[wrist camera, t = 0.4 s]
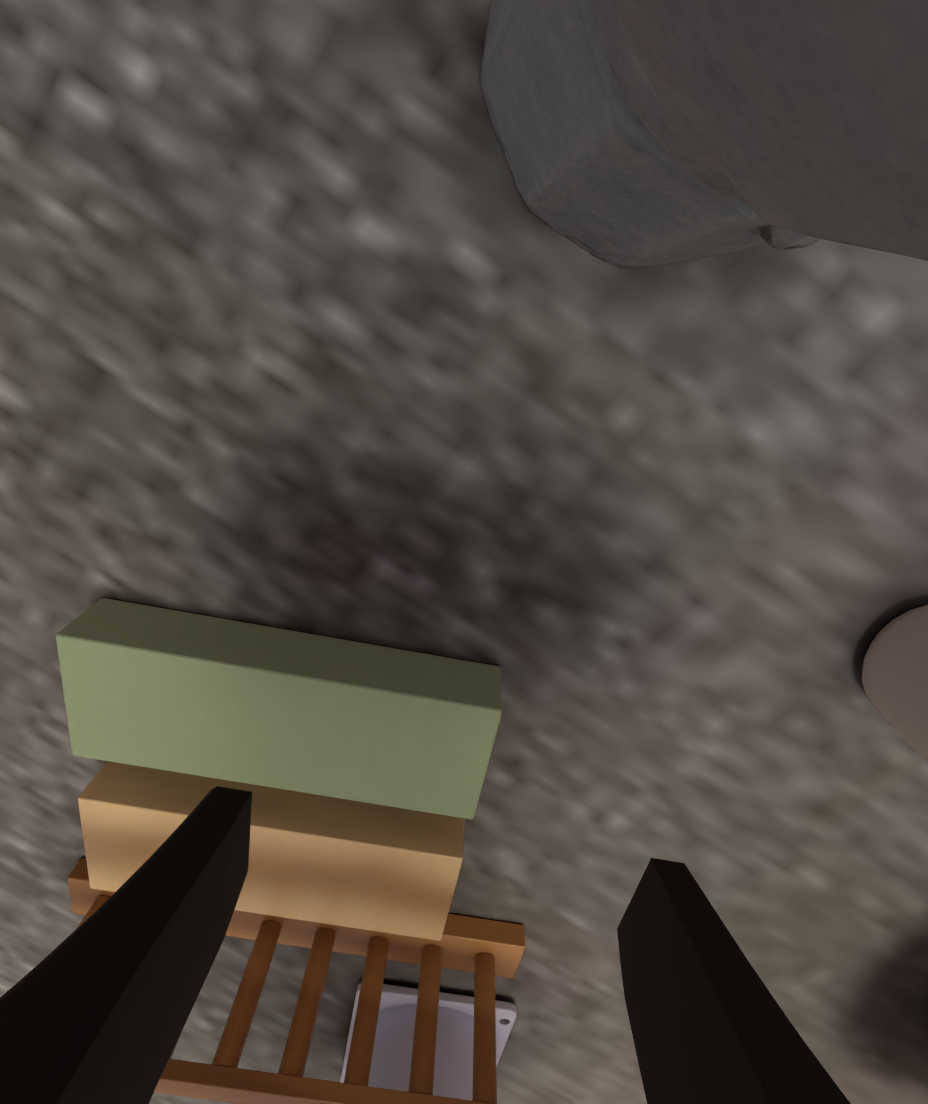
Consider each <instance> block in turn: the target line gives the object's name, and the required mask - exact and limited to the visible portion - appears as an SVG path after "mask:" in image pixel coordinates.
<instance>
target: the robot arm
mask: <svg viewBox="0 0 928 1104" xmlns="http://www.w3.org/2000/svg"><path fill="white" fill-rule="evenodd" d="M251 806H252V792H250V791H244V790H238V789H232V788H226V787H220V786H217V787H215V788H213V789H211V790H210V791H209V792H208V794H207V795H206V796H205V797H204V798H203V799H202V801H201V802H200V803H199V804H198V805H197V806H196V808H195V809H194V810H193V811H192V812H191V813H190V814H189V815H188V817H187V818H186V819H185V820H184V821H183V822H182V823H181V824H180V825H179V827H178V828H177V829H176V830H175V831H174V832H173V833H172V834H171V835H170V836H169V837H168V838H167V840H166V841H165V842H164V843H163V844H162V845H161V846H160V847H159V848H158V849H157V850H156V851H155V852H154V853H153V854H152V855H151V857H150V858H149V859H148V860H147V861H146V862H145V863H144V864H143V865H142V866H141V867H140V868H139V869H138V870H137V871H136V872H135V873H134V874H133V875H132V876H131V877H130V878H129V879H128V880H127V881H126V882H125V883H124V884H123V885H122V886H121V887H120V888H119V889H118V890H117V891H116V892H115V893H114V894H113V895H112V896H111V897H110V898H109V899H108V900H107V901H106V902H105V903H104V904H103V905H102V906H101V907H100V908H99V909H98V910H97V911H96V912H94V913H93V914H92V915H91V916H90V917H89V918H88V919H87V920H86V921H85V922H84V923H83V924H82V925H80V926H79V927H78V928H77V929H76V930H75V931H74V932H73V933H72V934H71V935H70V936H69V937H68V938H66V939H65V940H64V941H63V942H62V943H61V944H60V945H59V946H58V947H57V948H56V949H55V950H54V951H52V952H51V953H50V954H49V955H48V956H47V957H46V958H45V959H44V960H43V961H42V962H40V963H39V964H38V965H37V966H36V967H35V968H34V969H33V970H31V971H30V972H29V973H28V974H27V975H26V976H25V977H24V978H22V979H21V980H20V981H19V982H18V983H17V984H16V985H14V986H13V987H12V988H11V989H10V990H9V991H7V992H6V993H5V994H4V995H3V996H2V997H0V1104H149V1102H150V1099H151V1097H152V1095H153V1092H154V1090H155V1088H156V1086H157V1084H158V1082H159V1079H160V1077H161V1075H162V1073H163V1071H164V1068H165V1066H166V1064H167V1062H168V1060H169V1058H170V1055H171V1053H172V1051H173V1049H174V1047H175V1045H176V1042H177V1040H178V1038H179V1036H180V1034H181V1031H182V1029H183V1027H184V1025H185V1023H186V1021H187V1018H188V1016H189V1014H190V1012H191V1010H192V1008H193V1005H194V1003H195V1001H196V999H197V997H198V994H199V992H200V990H201V988H202V986H203V984H204V981H205V979H206V977H207V975H208V973H209V970H210V968H211V966H212V964H213V962H214V959H215V957H216V955H217V953H218V951H219V948H220V946H221V944H222V942H223V939H224V937H225V935H226V932H227V929H228V927H229V924H230V921H231V918H232V915H233V913H234V910H235V907H236V904H237V901H238V898H239V896H240V893H241V890H242V887H243V884H244V881H245V878H246V875H247V872H248V866H249V846H250V826H251ZM617 931H618V941H619V951H620V961H621V970H622V979H623V987H624V995H625V1000H626V1005H627V1010H628V1015H629V1020H630V1025H631V1030H632V1034H633V1039H634V1044H635V1049H636V1053H637V1058H638V1063H639V1067H640V1072H641V1076H642V1081H643V1086H644V1090H645V1095H646V1099H647V1104H851V1103H850V1102H849V1101H848V1100H847V1098H846V1097H845V1096H844V1094H843V1093H842V1092H841V1091H840V1089H839V1088H838V1087H837V1085H836V1084H835V1083H834V1081H833V1080H832V1078H831V1077H830V1076H829V1074H828V1073H827V1072H826V1070H825V1069H824V1068H823V1066H822V1065H821V1064H820V1062H819V1061H818V1060H817V1058H816V1057H815V1056H814V1054H813V1053H812V1052H811V1050H810V1049H809V1048H808V1046H807V1045H806V1044H805V1042H804V1041H803V1039H802V1038H801V1037H800V1035H799V1034H798V1032H797V1031H796V1030H795V1028H794V1027H793V1025H792V1024H791V1023H790V1021H789V1020H788V1018H787V1017H786V1015H785V1014H784V1013H783V1011H782V1010H781V1008H780V1007H779V1005H778V1004H777V1002H776V1001H775V999H774V998H773V997H772V995H771V994H770V992H769V991H768V989H767V988H766V986H765V985H764V984H763V982H762V981H761V979H760V978H759V976H758V975H757V973H756V972H755V970H754V969H753V967H752V966H751V964H750V963H749V961H748V960H747V958H746V957H745V955H744V954H743V952H742V951H741V949H740V948H739V946H738V945H737V943H736V942H735V940H734V939H733V937H732V936H731V934H730V933H729V931H728V930H727V928H726V927H725V925H724V924H723V922H722V921H721V919H720V917H719V916H718V914H717V913H716V911H715V910H714V908H713V907H712V905H711V904H710V902H709V901H708V899H707V898H706V896H705V894H704V893H703V891H702V890H701V888H700V887H699V885H698V884H697V882H696V881H695V879H694V878H693V876H692V875H691V873H690V872H689V870H688V869H687V867H686V865H685V864H684V863H679V862H673V861H667V860H661V859H654V858H651V860H650V862H649V864H648V866H647V868H646V870H645V872H644V874H643V877H642V879H641V881H640V883H639V885H638V887H637V889H636V891H635V893H634V895H633V897H632V899H631V901H630V903H629V905H628V908H627V910H626V912H625V914H624V916H623V918H622V920H621V922H620V924H619V926H618V928H617ZM361 983H362V982H361ZM361 983H360V984H358V986H357V991H356V997H355V1002H354V1008H353V1013H352V1019H351V1024H350V1030H349V1036H348V1041H347V1047H346V1052H345V1058H344V1063H343V1069H342V1074H341V1080H340V1083H344V1078H345V1072H346V1066H347V1061H348V1055H349V1050H350V1044H351V1039H352V1033H353V1027H354V1022H355V1016H356V1011H357V1005H358V999H359V994H360V988H361ZM417 997H418V989H416V988H409V987H403V986H396V985H389V984H383V988H382V994H381V1001H380V1008H379V1015H378V1022H377V1028H376V1035H375V1042H374V1049H373V1055H372V1062H371V1069H370V1076H369V1083H368V1086H369V1087H377V1088H384V1089H391V1090H398V1091H406V1092H408V1090H409V1080H410V1070H411V1059H412V1049H413V1038H414V1028H415V1018H416V1007H417ZM495 1015H496V1067H497V1064H498V1062H499V1059H500V1057H501V1054H502V1052H503V1049H504V1047H505V1044H506V1042H507V1039H508V1037H509V1034H510V1032H511V1029H512V1027H513V1024H514V1021H515V1019H516V1015H517V1013H516V1006H515V1005H514V1004H513V1003H510V1002H505V1001H498V1000H495ZM473 1032H474V997H471V996H464V995H457V994H450V993H444V992H439V1006H438V1021H437V1036H436V1052H435V1067H434V1082H433V1095H434V1096H442V1097H449V1098H456V1099H463V1100H471V1101H472V1094H473Z"/></svg>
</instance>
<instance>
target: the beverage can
mask: <svg viewBox="0 0 928 1104" xmlns="http://www.w3.org/2000/svg"><path fill="white" fill-rule="evenodd" d="M862 683H863V686H864V690H865V694H866V696H867V697H868V698H869V700H870V701H871V702H872V704H873V705H874V706H875V707H876V709H877V710H878V711H879V712H880V713H881V714H882V715H883V716H884V717H885V718H886V719H887V720H888V721H889V722H890V724H891V725H892V726H893V727H894V728H895V729H896V730H897V731H898V732H899V733H900V734H901V735H902V736H903V737H904V739H905V740H906V741H907V742H908V743H909V744H910V745H911V746H912V747H913V748H914V749H915V750H916V751H917V752H918V754H919V755H920V756H921V757H922V758H923V759H924V760H925V761H926V762H927V763H928V605H925V606H922V607H918V608H915V609H912V610H909V611H907V612H905V613H904V614H902V615H900V616H898V617H896V618H895V619H893V620H892V621H891V622H890V623H888V624H887V625H886V626H885V627H884V628H883V629H881V630H880V632H879V633H878V634H877V636H876V637H875V638H874V640H873V641H872V642H871V644H870V646H869V648H868V651H867V653H866V655H865V658H864V662H863V672H862Z"/></svg>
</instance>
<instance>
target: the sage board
mask: <svg viewBox="0 0 928 1104" xmlns="http://www.w3.org/2000/svg"><path fill="white" fill-rule="evenodd" d="M56 642H57V649H58V657H59V664H60V671H61V678H62V685H63V693H64V700H65V707H66V714H67V721H68V729H69V736H70V743H71V750H72V755H74V756H79V757H85V758H91V759H98V760H104V761H110V762H116V763H122V764H129V765H135V766H141V767H147V768H154V769H160V770H166V771H172V772H178V773H185V774H191V775H197V776H203V777H210V778H216V779H222V780H228V781H235V782H241V783H247V784H253V785H259V786H266V787H272V788H278V789H284V790H291V791H297V792H303V793H309V794H315V795H322V796H328V797H334V798H340V799H347V800H353V801H359V802H365V803H371V804H378V805H384V806H390V807H396V808H403V809H409V810H415V811H421V812H427V813H434V814H440V815H446V816H452V817H459V818H465V819H473V818H474V816H475V812H476V808H477V804H478V801H479V797H480V793H481V790H482V786H483V782H484V778H485V775H486V771H487V767H488V764H489V760H490V756H491V753H492V749H493V745H494V741H495V738H496V734H497V730H498V727H499V723H500V719H501V715H502V712H503V709H502V685H501V668H500V667H499V666H493V665H487V664H481V663H476V662H470V661H464V660H458V659H453V658H447V657H441V656H435V655H430V654H424V653H418V652H412V651H406V650H401V649H395V648H389V647H383V646H378V645H372V644H366V643H360V642H355V641H349V640H343V639H337V638H331V637H326V636H320V635H314V634H308V633H303V632H297V631H291V630H285V629H280V628H274V627H268V626H262V625H256V624H251V623H245V622H239V621H233V620H228V619H222V618H216V617H210V616H205V615H199V614H193V613H187V612H181V611H176V610H170V609H164V608H158V607H153V606H147V605H141V604H135V603H130V602H124V601H118V600H112V599H106V598H102V599H100V600H99V601H97V602H96V603H95V604H94V605H93V606H91V607H90V608H89V609H88V610H86V611H85V612H84V613H83V614H81V615H80V616H79V617H78V618H76V619H75V620H74V621H73V622H71V623H70V624H69V625H68V626H66V627H65V628H64V629H63V630H61V631H60V632H59V633H58V634H57V635H56Z"/></svg>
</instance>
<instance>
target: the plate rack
mask: <svg viewBox="0 0 928 1104" xmlns="http://www.w3.org/2000/svg"><path fill="white" fill-rule="evenodd" d="M67 880H68V886H69V892H70V899H71V905H72V911H73V913H77V914H84V915H85V917H84V918H83V920H82V921H81V923H80V924H79V926H80V925H82V924H83V923H84V922H85V921H86V920H87V919H88V918H89V917H90V916H91V915H92V914H93V913H94V912H96V911H97V910H98V909H99V908H100V907H101V906H102V905H103V904H104V903H105V902H106V901H107V900H108V899H109V898H110V897H111V896H112V895H113V894H114V893H115V892H111V891H105V890H98V889H91V888H90V883H89V876H88V869H87V861H86V858H81V859H80V861H79V862H78V863H77V865H76V866H75V868H74V869H73V870H72V872H71V873H70V875H69V876H68V878H67ZM79 926H78V927H79ZM225 936H232V937H239V938H246V939H252V940H256V941H255V943H254V946H253V949H252V952H251V955H250V958H249V960H248V963H247V966H246V969H245V972H244V975H243V977H242V980H241V983H240V986H239V989H238V992H237V994H236V997H235V1000H234V1003H233V1006H232V1009H231V1011H230V1014H229V1017H228V1020H227V1023H226V1026H225V1028H224V1031H223V1034H222V1037H221V1040H220V1043H219V1045H218V1048H217V1051H216V1054H215V1057H214V1059H213V1062H212V1065H210V1064H203V1063H196V1062H188V1061H181V1060H174V1059H171V1056H172V1054H173V1052H174V1049H175V1047H176V1045H175V1047H174V1049H173V1051H172V1053H171V1055H170V1058H169V1060H168V1062H167V1064H166V1066H165V1068H164V1071H163V1073H162V1075H161V1077H160V1079H159V1082H158V1084H157V1086H156V1088H155V1090H154V1092H158V1093H165V1094H172V1095H180V1096H187V1097H194V1098H202V1099H209V1100H217V1101H224V1102H231V1103H239V1104H497V1087H496V1015H495V976H502V977H508V978H514V976H515V973H516V970H517V968H518V965H519V962H520V959H521V957H522V954H523V951H524V949H525V935H524V925H520V924H513V923H507V922H500V921H494V920H487V919H481V918H474V917H468V916H461V915H455V914H448V916H447V920H446V924H445V927H444V931H443V935H442V938H441V941H437V940H430V939H423V938H417V937H410V936H403V935H397V934H390V933H384V932H377V931H370V930H364V929H357V928H350V927H344V926H337V925H330V924H324V923H317V922H310V921H304V920H297V919H291V918H284V917H277V916H271V915H264V914H257V913H251V912H244V911H237V910H234V913H233V915H232V918H231V921H230V924H229V927H228V929H227V932H226V935H225ZM277 943H279V944H286V945H293V946H299V947H306V948H311V951H310V955H309V959H308V962H307V966H306V970H305V974H304V977H303V981H302V985H301V989H300V993H299V996H298V1000H297V1004H296V1008H295V1012H294V1015H293V1019H292V1023H291V1027H290V1030H289V1034H288V1038H287V1042H286V1046H285V1049H284V1053H283V1057H282V1061H281V1064H280V1068H279V1072H278V1074H275V1073H268V1072H261V1071H253V1070H246V1069H239V1068H237V1066H238V1063H239V1060H240V1057H241V1054H242V1051H243V1047H244V1044H245V1041H246V1038H247V1035H248V1032H249V1029H250V1025H251V1022H252V1019H253V1016H254V1013H255V1010H256V1007H257V1004H258V1000H259V997H260V994H261V991H262V988H263V985H264V982H265V979H266V975H267V972H268V969H269V966H270V963H271V960H272V957H273V953H274V950H275V947H276V944H277ZM332 951H333V952H340V953H347V954H353V955H360V956H366V960H365V966H364V971H363V977H362V983H361V988H360V994H359V999H358V1005H357V1011H356V1016H355V1022H354V1027H353V1033H352V1039H351V1044H350V1050H349V1055H348V1061H347V1066H346V1072H345V1078H344V1083H340V1082H333V1081H326V1080H319V1079H311V1078H304V1077H303V1074H304V1069H305V1065H306V1061H307V1057H308V1052H309V1048H310V1044H311V1039H312V1035H313V1031H314V1026H315V1022H316V1018H317V1013H318V1009H319V1005H320V1001H321V996H322V992H323V988H324V983H325V979H326V975H327V970H328V966H329V962H330V957H331V953H332ZM387 960H394V961H401V962H407V963H414V964H421V966H420V976H419V986H418V997H417V1007H416V1018H415V1028H414V1038H413V1049H412V1059H411V1070H410V1080H409V1090H408V1092H406V1091H398V1090H391V1089H384V1088H377V1087H369V1086H368V1083H369V1076H370V1069H371V1062H372V1055H373V1049H374V1042H375V1035H376V1028H377V1022H378V1015H379V1008H380V1001H381V994H382V988H383V981H384V974H385V967H386V961H387ZM441 968H448V969H454V970H461V971H468V972H474V1032H473V1094H472V1101H471V1100H463V1099H456V1098H449V1097H442V1096H434V1095H433V1082H434V1067H435V1052H436V1036H437V1021H438V1006H439V991H440V975H441ZM182 1030H183V1029H182ZM181 1032H182V1031H181ZM179 1037H180V1036H179ZM178 1039H179V1038H178ZM177 1042H178V1040H177ZM177 1042H176V1044H177Z"/></svg>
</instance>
